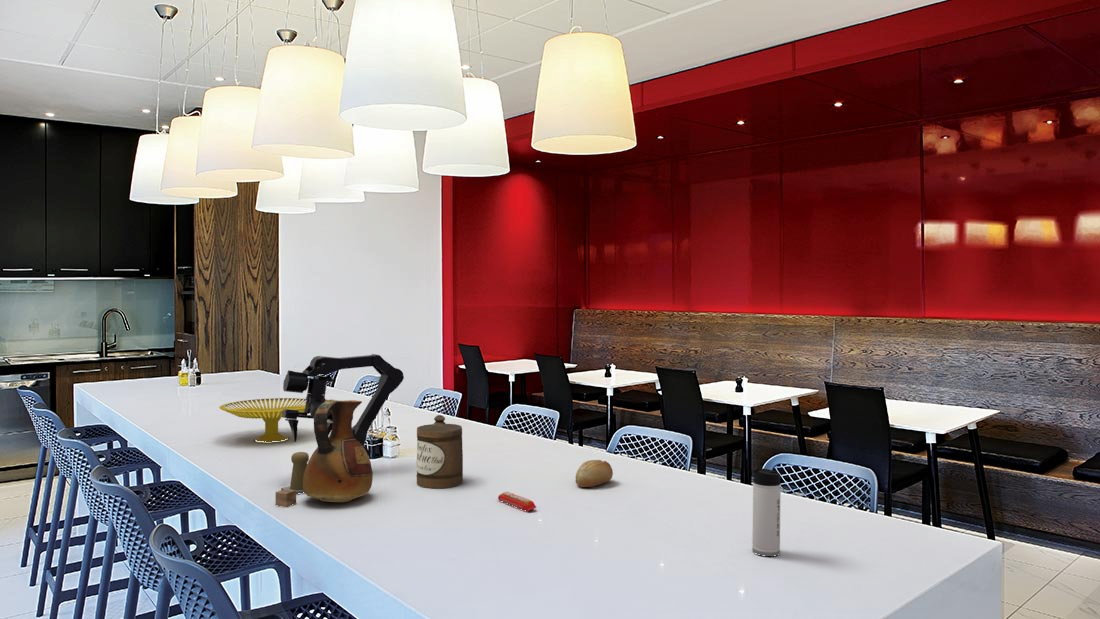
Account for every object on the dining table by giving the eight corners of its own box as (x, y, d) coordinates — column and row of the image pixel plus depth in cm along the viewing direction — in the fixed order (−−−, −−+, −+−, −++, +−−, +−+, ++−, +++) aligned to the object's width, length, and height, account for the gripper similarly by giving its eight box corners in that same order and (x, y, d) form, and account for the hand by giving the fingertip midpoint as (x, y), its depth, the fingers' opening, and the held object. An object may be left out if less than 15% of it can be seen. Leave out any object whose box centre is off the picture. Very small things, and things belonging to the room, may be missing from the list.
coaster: (304, 485, 233) (304, 483, 233) (318, 490, 227) (318, 487, 227) (281, 490, 227) (281, 487, 227) (293, 495, 221) (293, 492, 221)
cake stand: (302, 450, 286) (302, 412, 285) (200, 449, 286) (200, 411, 286) (334, 431, 326) (334, 398, 326) (244, 430, 326) (244, 397, 326)
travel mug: (747, 548, 177) (748, 466, 176) (773, 547, 177) (774, 465, 177) (756, 557, 170) (757, 472, 170) (784, 557, 171) (785, 471, 171)
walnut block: (285, 502, 214) (285, 488, 214) (296, 504, 212) (296, 490, 212) (275, 505, 210) (275, 492, 210) (286, 507, 209) (286, 493, 209)
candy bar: (495, 501, 217) (495, 491, 217) (505, 499, 219) (505, 489, 219) (527, 514, 204) (527, 503, 204) (537, 512, 207) (538, 501, 206)
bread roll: (620, 483, 239) (621, 458, 238) (592, 492, 227) (592, 466, 227) (597, 478, 245) (597, 454, 245) (568, 486, 234) (568, 461, 234)
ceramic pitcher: (385, 493, 224) (385, 396, 223) (346, 512, 205) (346, 405, 204) (330, 488, 230) (331, 393, 229) (288, 505, 211) (288, 401, 210)
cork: (303, 490, 223) (303, 455, 223) (285, 489, 225) (285, 454, 224) (314, 485, 229) (314, 450, 229) (296, 484, 231) (296, 450, 230)
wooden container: (407, 483, 237) (407, 415, 236) (443, 475, 248) (443, 410, 247) (436, 491, 227) (436, 420, 226) (472, 482, 238) (472, 415, 237)
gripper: (293, 392, 228) (285, 442, 226) (351, 397, 238) (345, 446, 235) (284, 391, 237) (277, 440, 235) (341, 397, 247) (335, 443, 245)
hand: (309, 442), depth 237 cm, fingers open, 9 cm apart
